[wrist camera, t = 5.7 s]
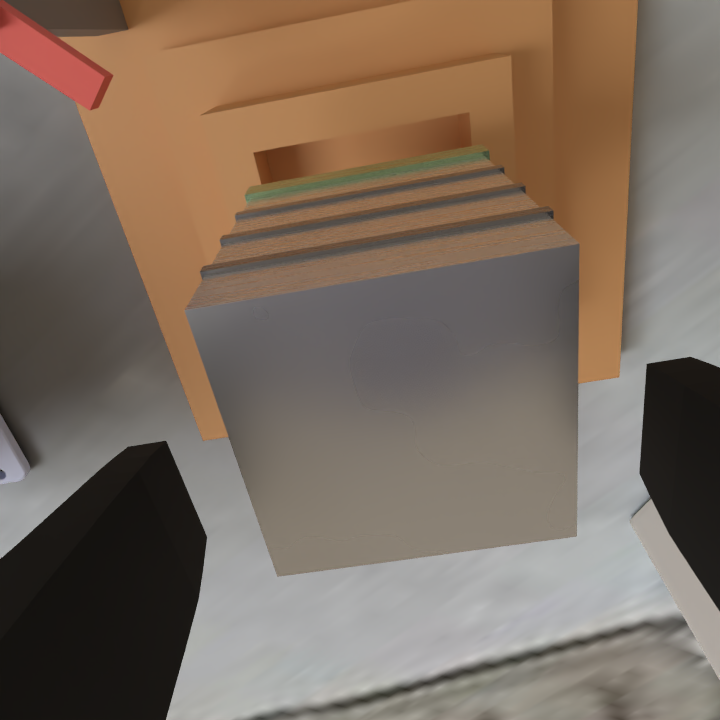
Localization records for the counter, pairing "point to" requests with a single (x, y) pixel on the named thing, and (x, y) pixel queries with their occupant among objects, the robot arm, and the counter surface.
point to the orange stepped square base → (339, 120)
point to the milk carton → (680, 581)
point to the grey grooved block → (396, 361)
